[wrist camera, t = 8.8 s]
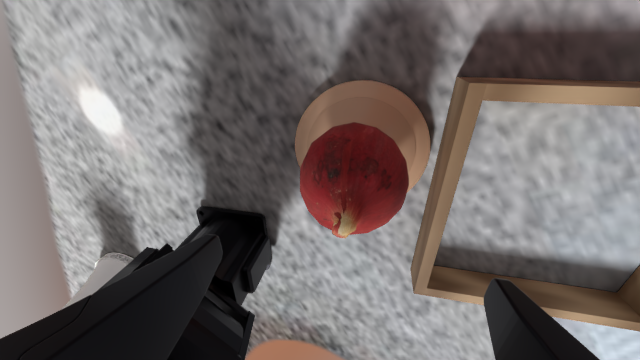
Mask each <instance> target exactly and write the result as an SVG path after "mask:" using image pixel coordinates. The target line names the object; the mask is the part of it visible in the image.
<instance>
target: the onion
mask: <svg viewBox="0 0 640 360" xmlns="http://www.w3.org/2000/svg"><path fill="white" fill-rule="evenodd" d="M408 187H409V175H408V169H407V162H406V159H405V158H404V156H403V154H402V153H401V151H400V149H399V147H398V146H397V144H396V143H395V141H394V140H393V139H392V138H391V137H389V136H388V135H387V134H385V133H384V132H382V131H381V130H380V129H378V128H377V127H373V126H369V125H365V124H361V123H357V122H352V123H348V124H343V125H339V126H334V127H332V128H330V129H329V130H328V131H326V132H325V133H324V134H322V135H321V136H320V137H319V138H317V139H316V140H315V141H313V142H312V143H311V145H310V147H309V149H308V152H307V154H306V156H305V158H304V160H303V162H302V165H301V168H300V192H301V195H302V197H303V200H304V202H305V204H306V206H307V209H308V211H309V212H310V213H311V214H312V215H313V217H314V218H315V219H316V220H317V221H318V222H319V223H320V224H321V225H322V226H324V227H326V228H328V229H330V230H332V234H334V235H335V236H337V237H340V238H346V237H347V236H348V235H349V234H350V235H351V234H361V233H368V232H370V231H372V230H374V229H377V228H379V227H381V226H383V225H384V224H386V223H387V222H389V220H390V219H391V218H392V217H393V216H394V215H395V214H396V213H397V212H398V211H399V210H400V209H401V207H402V205H403V203H404V200H405V197H406V193H407V190H408Z"/></svg>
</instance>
